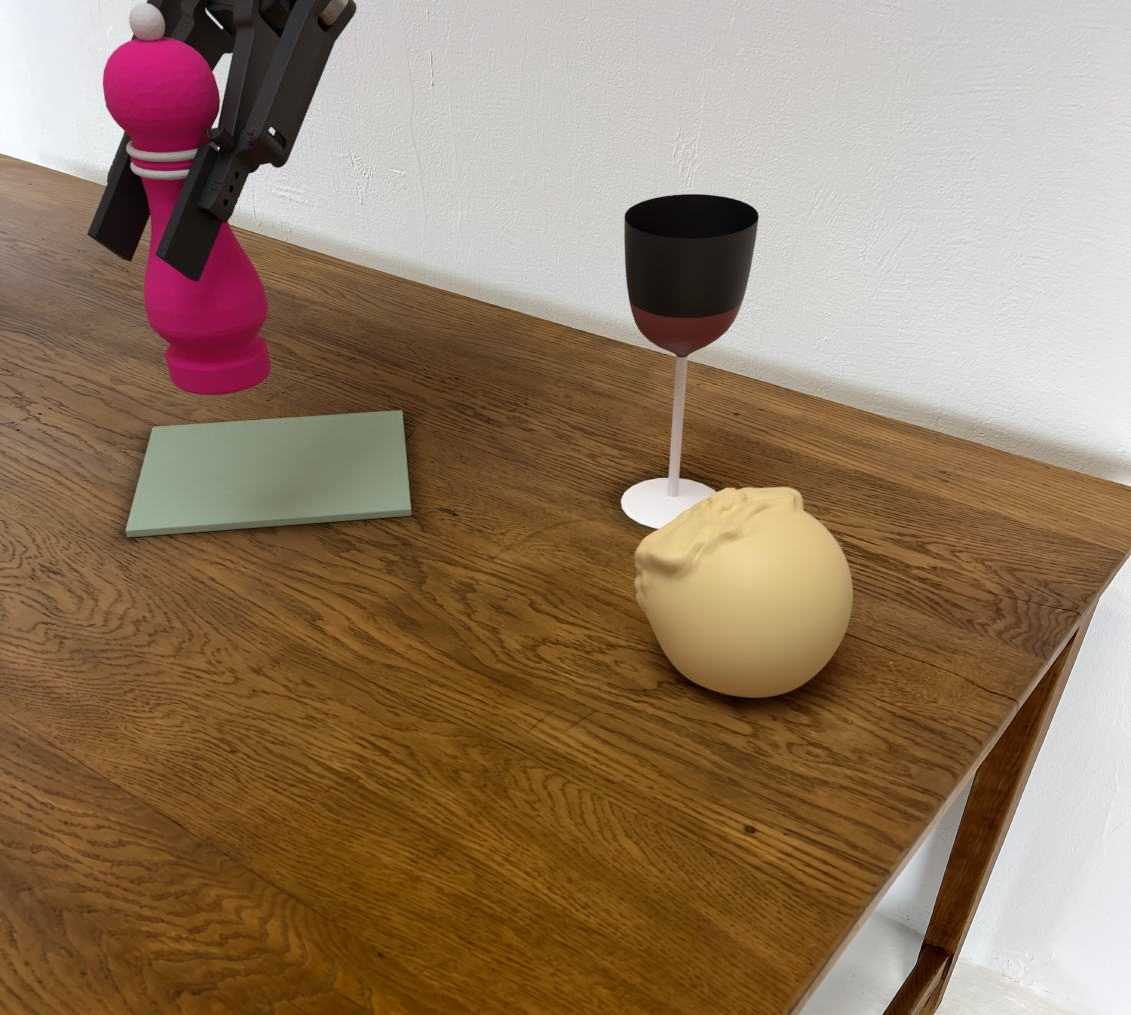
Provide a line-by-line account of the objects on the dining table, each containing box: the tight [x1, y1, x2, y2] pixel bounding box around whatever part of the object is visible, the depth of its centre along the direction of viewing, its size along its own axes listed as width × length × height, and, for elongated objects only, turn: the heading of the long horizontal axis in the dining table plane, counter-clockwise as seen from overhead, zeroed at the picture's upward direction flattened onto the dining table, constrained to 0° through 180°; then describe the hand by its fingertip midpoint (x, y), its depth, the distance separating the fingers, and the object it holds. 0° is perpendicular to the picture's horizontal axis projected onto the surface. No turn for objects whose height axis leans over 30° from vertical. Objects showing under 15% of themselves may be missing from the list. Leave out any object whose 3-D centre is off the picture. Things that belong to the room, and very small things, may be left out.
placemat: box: [124, 409, 413, 538], centre depth 87 cm, size 20×16×1 cm
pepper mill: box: [102, 2, 272, 396], centre depth 66 cm, size 7×7×20 cm
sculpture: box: [633, 486, 854, 699], centre depth 66 cm, size 11×12×11 cm
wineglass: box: [620, 193, 760, 530], centre depth 77 cm, size 8×9×20 cm
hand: (142, 257), depth 65 cm, fingers closed on pepper mill, 5 cm apart
